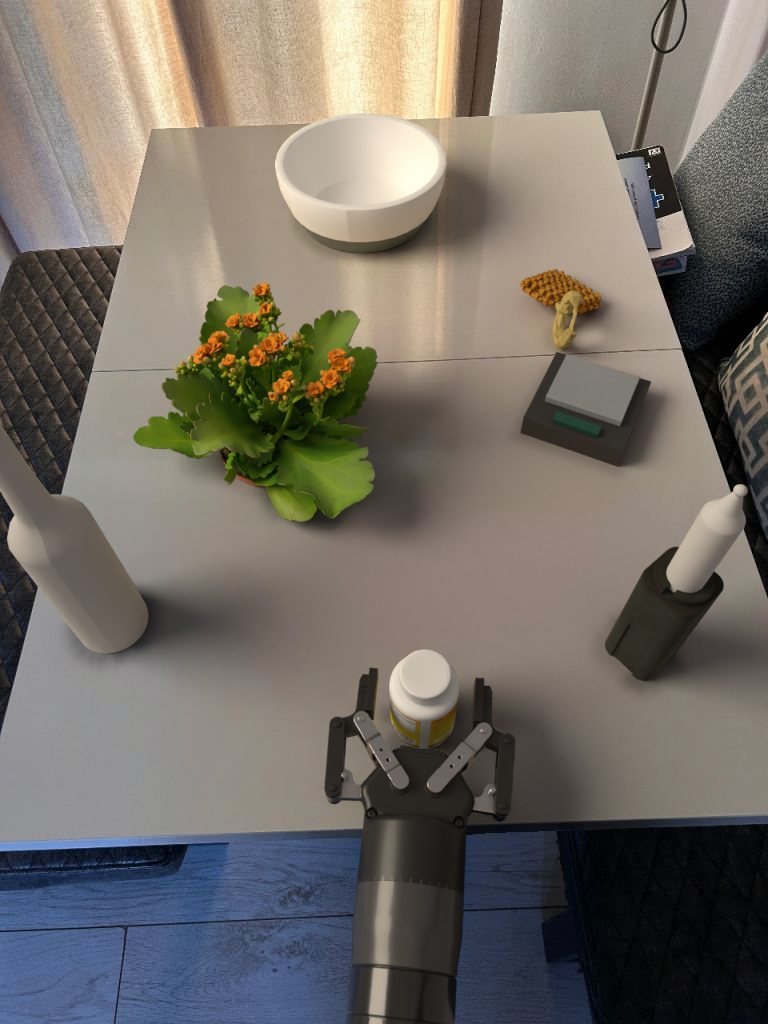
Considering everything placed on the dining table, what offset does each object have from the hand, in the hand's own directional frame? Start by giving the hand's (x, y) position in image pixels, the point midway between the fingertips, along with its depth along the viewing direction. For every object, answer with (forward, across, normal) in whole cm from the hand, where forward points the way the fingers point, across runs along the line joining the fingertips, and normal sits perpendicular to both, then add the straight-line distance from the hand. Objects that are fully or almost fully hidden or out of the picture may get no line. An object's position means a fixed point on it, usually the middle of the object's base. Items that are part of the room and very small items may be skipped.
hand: (426, 676), depth 62 cm
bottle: (+5, +30, +6) cm, 31 cm away
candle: (+7, -19, +6) cm, 21 cm away
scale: (+35, -15, +6) cm, 39 cm away
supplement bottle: (-2, 0, +6) cm, 6 cm away
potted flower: (+27, +20, +6) cm, 34 cm away
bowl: (+69, +14, +6) cm, 71 cm away
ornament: (+51, -13, +6) cm, 53 cm away
